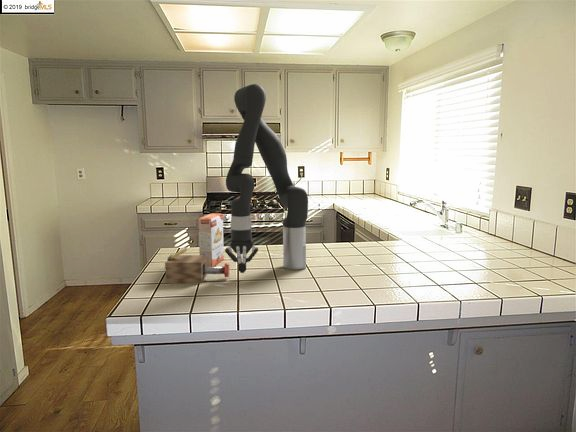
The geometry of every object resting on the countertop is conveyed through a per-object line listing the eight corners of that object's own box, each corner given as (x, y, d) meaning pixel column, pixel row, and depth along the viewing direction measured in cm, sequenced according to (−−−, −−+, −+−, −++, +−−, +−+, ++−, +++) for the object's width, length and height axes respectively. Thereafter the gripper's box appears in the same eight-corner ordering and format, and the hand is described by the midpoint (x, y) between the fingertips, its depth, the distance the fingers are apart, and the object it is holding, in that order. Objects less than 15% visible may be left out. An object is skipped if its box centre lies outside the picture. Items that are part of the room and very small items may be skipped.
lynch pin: (229, 274, 157) (229, 261, 156) (227, 279, 152) (227, 265, 151) (190, 275, 157) (189, 262, 156) (186, 279, 152) (186, 265, 151)
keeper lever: (187, 249, 154) (185, 246, 154) (185, 252, 150) (183, 249, 150) (171, 258, 155) (169, 255, 155) (168, 261, 151) (166, 258, 151)
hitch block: (206, 275, 159) (206, 255, 158) (201, 283, 149) (200, 262, 148) (173, 275, 159) (172, 255, 158) (166, 283, 149) (164, 262, 148)
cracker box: (213, 268, 168) (211, 218, 164) (199, 267, 169) (197, 218, 165) (225, 259, 181) (223, 213, 178) (212, 258, 182) (210, 212, 179)
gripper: (259, 225, 155) (260, 269, 158) (224, 225, 155) (226, 269, 158) (258, 229, 147) (259, 275, 150) (221, 229, 147) (223, 275, 150)
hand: (242, 272), depth 154 cm, fingers closed
